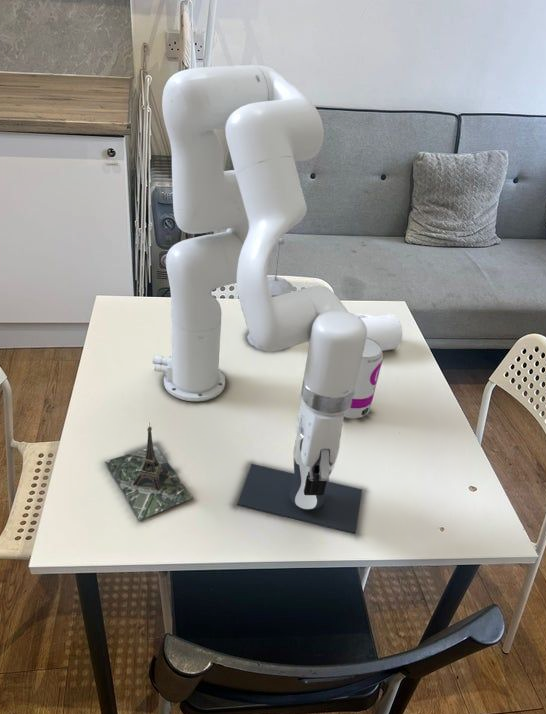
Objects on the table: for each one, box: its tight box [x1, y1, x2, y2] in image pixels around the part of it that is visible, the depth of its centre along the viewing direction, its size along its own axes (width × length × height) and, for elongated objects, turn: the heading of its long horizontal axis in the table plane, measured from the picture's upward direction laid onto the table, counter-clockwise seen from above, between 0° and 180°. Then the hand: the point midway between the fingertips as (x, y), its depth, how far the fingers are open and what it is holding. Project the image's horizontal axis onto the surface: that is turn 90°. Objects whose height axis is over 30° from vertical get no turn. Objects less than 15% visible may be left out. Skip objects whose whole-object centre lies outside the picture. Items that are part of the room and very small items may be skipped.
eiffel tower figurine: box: [104, 421, 194, 521], centre depth 105 cm, size 15×10×13 cm
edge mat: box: [236, 463, 363, 535], centre depth 109 cm, size 20×10×1 cm, turn 77°
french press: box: [247, 236, 294, 352], centre depth 139 cm, size 10×12×25 cm
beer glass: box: [289, 423, 341, 510], centre depth 102 cm, size 7×7×15 cm
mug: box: [355, 313, 403, 352], centre depth 146 cm, size 12×10×8 cm
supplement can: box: [343, 337, 384, 420], centre depth 125 cm, size 8×8×15 cm
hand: (310, 477), depth 104 cm, fingers closed on beer glass, 6 cm apart
